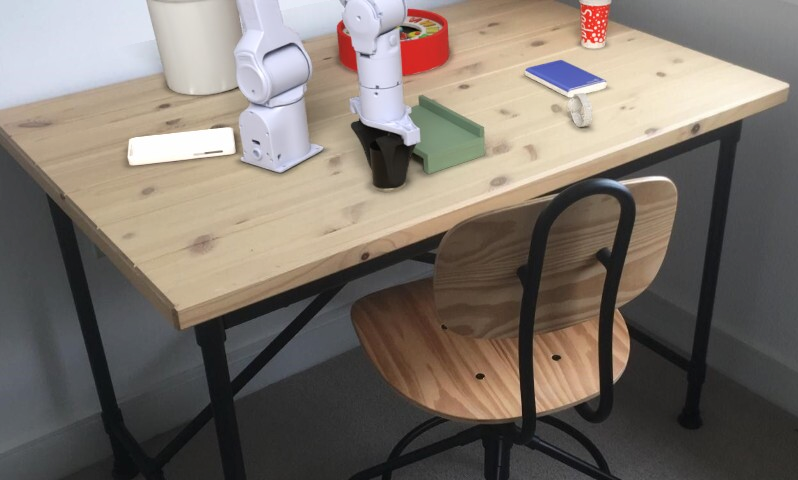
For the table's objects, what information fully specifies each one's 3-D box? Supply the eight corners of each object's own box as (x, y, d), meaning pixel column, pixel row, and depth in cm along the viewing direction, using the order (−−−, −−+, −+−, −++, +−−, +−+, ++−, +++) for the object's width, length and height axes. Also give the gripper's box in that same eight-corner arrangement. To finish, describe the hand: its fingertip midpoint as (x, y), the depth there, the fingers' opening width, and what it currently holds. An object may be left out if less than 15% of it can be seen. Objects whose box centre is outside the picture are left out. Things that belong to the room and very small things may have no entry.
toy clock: (468, 17, 177) (408, 49, 162) (469, 48, 180) (411, 83, 166) (378, 2, 185) (313, 32, 170) (380, 32, 188) (317, 64, 173)
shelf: (428, 174, 136) (427, 145, 134) (369, 137, 147) (366, 110, 144) (484, 155, 142) (484, 127, 139) (423, 121, 152) (422, 94, 149)
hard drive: (606, 79, 163) (562, 58, 171) (568, 89, 159) (525, 67, 167) (606, 88, 164) (562, 67, 172) (568, 98, 160) (525, 76, 168)
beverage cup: (572, 41, 184) (575, -35, 176) (602, 37, 185) (606, -37, 178) (583, 51, 179) (587, -26, 171) (614, 48, 181) (618, -29, 173)
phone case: (233, 134, 148) (131, 146, 144) (232, 126, 147) (129, 137, 143) (236, 154, 142) (129, 166, 138) (234, 145, 141) (127, 158, 138)
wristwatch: (582, 118, 153) (583, 88, 150) (595, 130, 149) (597, 99, 146) (565, 120, 152) (566, 90, 149) (578, 132, 148) (579, 102, 145)
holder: (392, 195, 131) (388, 154, 128) (365, 187, 133) (361, 147, 130) (412, 182, 134) (409, 142, 131) (386, 174, 136) (382, 135, 133)
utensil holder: (199, 104, 158) (178, -4, 148) (144, 84, 165) (121, -20, 155) (269, 78, 168) (253, -25, 158) (214, 60, 175) (196, -39, 165)
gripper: (437, 90, 123) (442, 186, 130) (377, 59, 132) (384, 150, 140) (390, 103, 119) (398, 201, 127) (332, 71, 128) (342, 163, 136)
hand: (388, 175), depth 133 cm, fingers closed on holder, 4 cm apart
